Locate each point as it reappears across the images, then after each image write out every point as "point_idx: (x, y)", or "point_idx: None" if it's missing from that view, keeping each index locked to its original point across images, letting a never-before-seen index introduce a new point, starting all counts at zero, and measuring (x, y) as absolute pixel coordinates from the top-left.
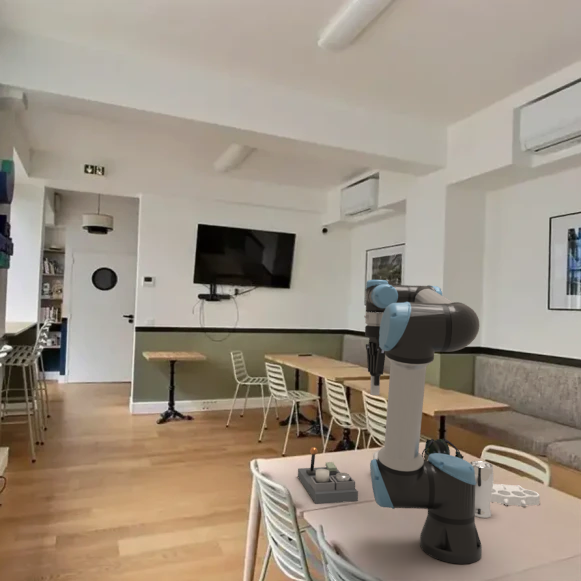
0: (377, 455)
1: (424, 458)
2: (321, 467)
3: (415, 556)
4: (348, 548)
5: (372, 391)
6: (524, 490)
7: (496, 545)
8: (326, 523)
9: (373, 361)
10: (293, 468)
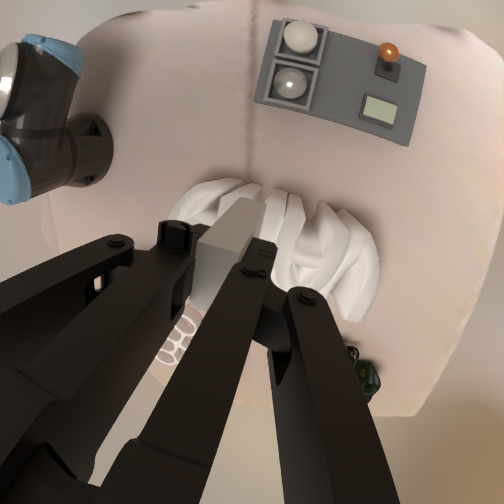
0: (342, 226)
1: (346, 347)
2: (415, 114)
3: (85, 97)
4: (125, 25)
5: (233, 204)
6: (174, 359)
7: (82, 209)
8: (197, 15)
9: (105, 329)
10: (464, 94)
